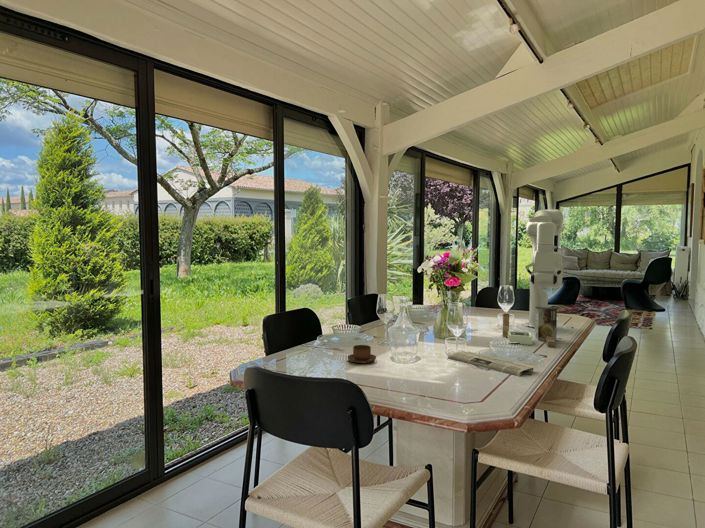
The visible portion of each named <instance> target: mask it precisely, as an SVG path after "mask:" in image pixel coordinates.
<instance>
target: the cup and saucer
mask: <svg viewBox="0 0 705 528" xmlns="http://www.w3.org/2000/svg"><path fill="white" fill-rule="evenodd" d="M352 348H353V349H352V351H353V353H352V354H348V355H347V360H349V361H350V362H353V363H355V364H368V363H373V362H374V361H375V360H376V359H377V356H376V355H374V354H372V353H371V349H372V347H371V346H370V345H367V344H358V345H357V344H355V345H354V346H353V347H352Z"/></svg>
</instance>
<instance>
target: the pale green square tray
mask: <svg viewBox="0 0 705 528" xmlns="http://www.w3.org/2000/svg"><path fill="white" fill-rule="evenodd" d="M508 340H509V341H510V342H517V343H520V344H519V345H525V346H527V345H529V346H531V345H533V336H532V333H531V332H530V331H516V330H514V331H513V330H509V331H508V337H507V341H508Z"/></svg>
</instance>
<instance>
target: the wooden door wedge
mask: <svg viewBox="0 0 705 528" xmlns="http://www.w3.org/2000/svg"><path fill="white" fill-rule="evenodd" d="M545 343H546V345H547V347H548V348H556V340H554V338H553V336H546V340H545Z"/></svg>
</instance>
